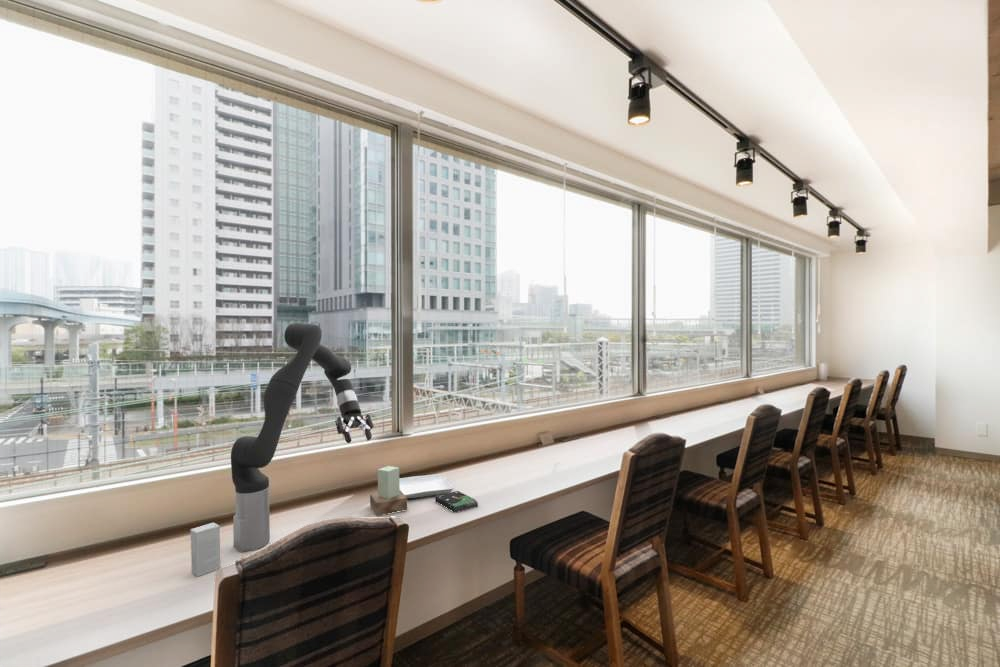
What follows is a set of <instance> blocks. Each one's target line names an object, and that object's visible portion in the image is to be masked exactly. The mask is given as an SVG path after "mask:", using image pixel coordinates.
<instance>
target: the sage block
mask: <svg viewBox="0 0 1000 667" xmlns="http://www.w3.org/2000/svg"><path fill="white" fill-rule="evenodd" d="M399 478H400V467H398V466H393V465H387V466H383V467H381V468H378V469H377V493H378V497H382V498H386V499H390V498H392V497H395V496H398V495H400V487H399Z"/></svg>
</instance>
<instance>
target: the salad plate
mask: <svg viewBox="0 0 1000 667" xmlns="http://www.w3.org/2000/svg"><path fill="white" fill-rule="evenodd" d="M399 487H400V491H401V492H402V493H403V494H404V495H405V496H406V497H407V500H409V498H411V499H417V497H419V498H425V497H424V496H427V497H432V495H434V496H438V495H439V494H441V495H444V494H446V493H451V492H453V490H454V487H453V485H452V484H451V482H449V481H448V479H447V478H446V477H445V475H444V474H441V473H438V474H426V475H416V476H407V477H402V478H401V477H399Z"/></svg>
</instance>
